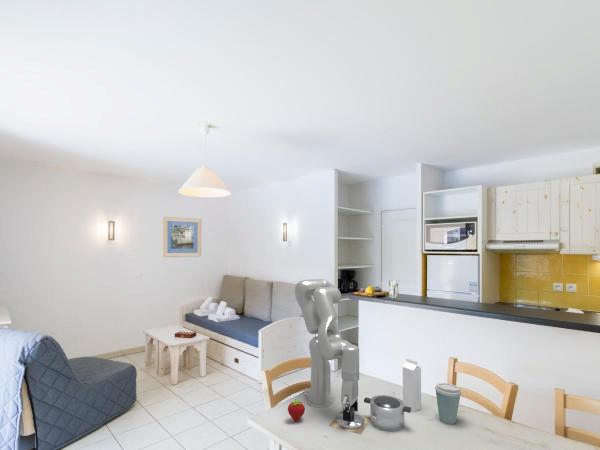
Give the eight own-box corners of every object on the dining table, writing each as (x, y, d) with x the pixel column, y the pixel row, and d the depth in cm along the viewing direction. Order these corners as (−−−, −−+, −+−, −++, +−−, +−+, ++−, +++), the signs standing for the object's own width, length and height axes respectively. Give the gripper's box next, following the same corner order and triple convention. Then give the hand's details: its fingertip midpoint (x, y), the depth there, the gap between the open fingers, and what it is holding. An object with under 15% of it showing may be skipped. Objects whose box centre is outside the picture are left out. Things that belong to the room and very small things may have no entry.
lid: (332, 424, 142) (332, 410, 142) (342, 412, 153) (342, 398, 153) (359, 432, 136) (359, 417, 137) (368, 418, 147) (368, 404, 147)
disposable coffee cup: (434, 412, 154) (434, 379, 155) (460, 416, 151) (460, 382, 152) (435, 424, 144) (435, 388, 145) (463, 429, 141) (462, 392, 142)
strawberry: (305, 425, 143) (305, 401, 143) (287, 425, 142) (287, 401, 143) (304, 418, 148) (304, 394, 149) (287, 418, 148) (287, 394, 149)
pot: (359, 425, 143) (359, 403, 143) (369, 411, 155) (369, 391, 155) (407, 438, 133) (407, 415, 134) (413, 422, 146) (413, 400, 146)
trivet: (328, 426, 142) (328, 425, 142) (340, 412, 154) (340, 410, 154) (361, 435, 135) (361, 434, 135) (371, 419, 147) (370, 418, 147)
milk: (413, 412, 154) (413, 363, 156) (402, 407, 159) (402, 359, 160) (421, 408, 158) (421, 360, 159) (410, 403, 163) (410, 357, 164)
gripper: (348, 366, 155) (348, 405, 154) (334, 380, 140) (334, 422, 139) (364, 369, 152) (364, 409, 151) (352, 383, 136) (352, 427, 135)
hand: (350, 415), depth 145 cm, fingers open, 9 cm apart
